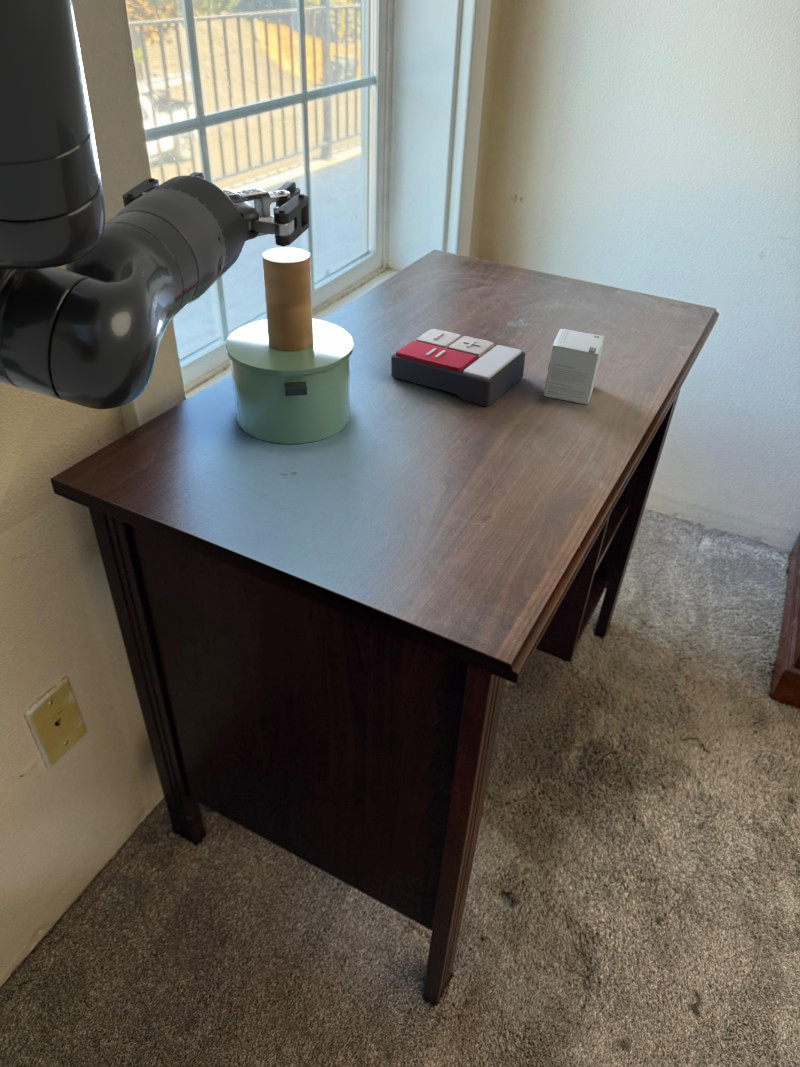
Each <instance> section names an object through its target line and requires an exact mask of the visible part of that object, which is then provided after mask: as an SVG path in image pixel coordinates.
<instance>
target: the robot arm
mask: <svg viewBox="0 0 800 1067" xmlns="http://www.w3.org/2000/svg"><path fill="white" fill-rule="evenodd" d="M97 150H98V149H97V144H96V136H95V131H94V124H93V118H92V112H91V106H90V100H89V93H88V88H87V81H86V76H85V71H84V64H83V59H82V53H81V47H80V41H79V34H78V30H77V23H76V17H75V12H74V5H73V0H0V383H2V384H5V385H7V386H8V385H9V386H13V387H16V388H19V389H23V390H26V391H29V392H33V393H36V394H39V395H40V394H41V395H44V396H47V397H51V398H54V399H58V400H61V401H65V402H68V403H71V404H75V405H78V406H81V407H86V408H89V409H96V410H110V409H116V408H119V407H123V406H125V405H127V404H130V403H131V402H133V401H134V400H136V399H137V398H138V397H139V396H140V395H141V394H142V393H144V391H145V389H146V388H147V386H148V384H149V382H150V379H151V376H152V374H153V370H154V368H155V363H156V359H157V355H158V350H159V347H160V344H161V342H162V339H163V337H164V333H165V332H166V330H167V327H168V326H169V323H170V322H171V321H172V320H173V319H174V318H175V317H176V316H178V314H179V313H180V312H181V311H183V309H185V308H186V306H188V305H190V304H192V303H193V302H195V301H197V300H198V299H200V297H202V296H203V295H204V294H205V293H206V292H207V291H208V290H209V289H210V288H212V286H213V285H215V283H217V281H218V280H219V279H221V277H223V275H225V273H226V272H228V270H230V269H231V268H232V267H233V266H234V265H235V264H236V262H237V260H238V259H239V257H240V256H241V253H242V251H243V249H244V245H245V243H246V242H247V241H250V240H253V239H256V238H257V237H258V238H259V237H262V236H267V235H273V236H274V240H275V242H274V243H275V245H277V246H280V247H289V246H290V245H291V244H293V243H294V242H295V241H296V240H297V239H298V238H299V237H301V235H302V234H304V233H305V232H306V231H307V230H308V229H309V228H310V200H309V198H310V197H309V196H308V195H305V194H303V193H301V188H300V187H297V185H296V184H297V183H296V182H295V181H286V182H285V183H283V184H282V185H281V186H279V188H278V189H277V190H275V191H269V192H268V191H265V190H263V189H261V188H258V187H255V188H249V189H244V190H243V189H242V190H236V191H234V190H231V189H222V188H221V187H219V186H218V185H216V184H215V183H214V182H211V181H210V180H208V179H205V174H204V173H203V172H202V171H201V172H200V171H193V172H192V173H190V174H186V175H185V174H184V175H178V176H173V177H171V178H170V179H167V180H166V181H164V182H162V183H160V179H156V178H155V177H149V178H147V179H144V180H142V181H141V182H140V183H138V184H137V185H135V186H134V187H132V188H131V189H129V190H128V191H126V192H125V193H124V194H122V195H121V196H122V202H123V208H122V209H121V210H120V211H119V212H118V213H117V214H116V215H115V216H114V217H112V218H111V219H109V220H107V221H106V204H105V196H104V190H103V183H102V182H103V181H102V176H101V170H100V162H99V158H98V151H97ZM250 201H253V206H252V205H251V204H250V203H249V202H250ZM274 203H275V206H274V207H273V208H272V210H273V211H272V212H273V215H271V205H272V204H274ZM63 266H64V268H61V267H63Z"/></svg>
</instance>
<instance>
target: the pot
mask: <svg viewBox="0 0 800 1067" xmlns="http://www.w3.org/2000/svg"><path fill="white" fill-rule="evenodd" d="M354 346H355V345H354V339H353V337H352V335H351V334H350V333H349V332H348V331H347V330H346V329H344V328H343V327H341V326H339V325H337V324H336V323H333V322H329V321H326V320H323V319H317V318H313V344H312V345H311V346H310V347H309V348H307V349H304V350H300V351H281V350H277V349H275V348H273V347H271V346H270V345H269V342H268V329H267V318H265V319H261V320H256V321H253V322H250V323H247V324H245V325H244V324H243V325H242V326H240V327H237V329H235V330H234V331H232V332H231V333H230V334H229V335H228V336H227V338H226V340H225V343H224V347H225V353H226V356H227V357H228V359H230V369H231V378H232V379H231V380H232V387H233V396H234V404H235V406H234V407H235V412H236V421H237V424H238V426H239V427H240V428H241V429H242V430H243V431H244V432H245V433H247V434H248V435H250V436H252V437H254V438H255V439H259V440H261V441H265V442H268V443H273V444H280V445H281V444H282V445H300V444H301V445H302V444H309V443H314V442H319V441H322V440H325V439H327V438H331V437H333V436H334V435H336V434H338V433H339V432H340V431H343V429H344V428H345V427H346V426H347V425H348V423H349V422H350V419H351V355H352V354H353V352H354Z"/></svg>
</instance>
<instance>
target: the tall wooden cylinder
mask: <svg viewBox="0 0 800 1067" xmlns="http://www.w3.org/2000/svg"><path fill="white" fill-rule="evenodd" d="M261 262H262V277H263V288H264V289H263V290H264V302H265V314H266V315H265V316H266V319H267V329H268V342H269V345H270V346H271V347H273V348H275V349H277V350H281V351H300V350H304V349H307V348H309V347H310V346H311V345H312V344H313V319H314V318H313V289H312V265H311V264H312V263H311V262H312V260H311V252H309V251H307V250H306V249H302V248H300V247H299V248H298V247H292V246H291V247H289V246H280V247H273V248H270V249H267V250H265V251H263V253H261Z"/></svg>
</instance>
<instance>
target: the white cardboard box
mask: <svg viewBox="0 0 800 1067" xmlns="http://www.w3.org/2000/svg"><path fill="white" fill-rule="evenodd" d="M604 342H605V335H599V334H594V333H587V332H582V331H577V330H572V329H567V328H560V329H559V330H558V333H557V334H556V337H555V338H554V341H553V342H552V343H553V344H552V346H551V353H550V358H549V362H548V368H547V374H546V378H545V384H544V389H543V396H544V397H546V398H549V399H556V400H560V401H566V402H571V403H577V404H583V405H589V403H590V401H591V398H592V396H593V395H592V394H593V392H594V387H595V384H596V379H597V374H598V370H599V367H600V366H599V365H600V361H601V356H602V351H603V347H604Z"/></svg>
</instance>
